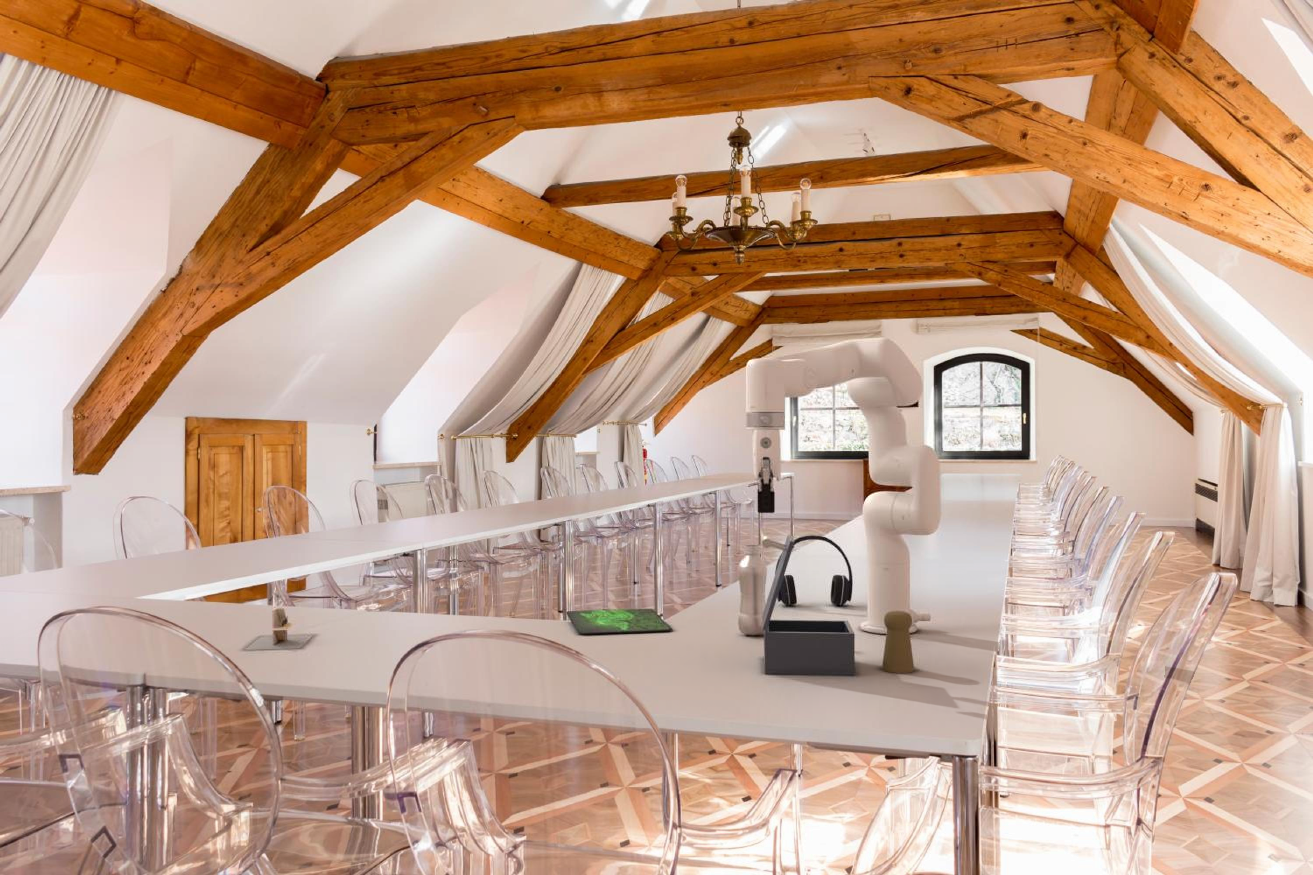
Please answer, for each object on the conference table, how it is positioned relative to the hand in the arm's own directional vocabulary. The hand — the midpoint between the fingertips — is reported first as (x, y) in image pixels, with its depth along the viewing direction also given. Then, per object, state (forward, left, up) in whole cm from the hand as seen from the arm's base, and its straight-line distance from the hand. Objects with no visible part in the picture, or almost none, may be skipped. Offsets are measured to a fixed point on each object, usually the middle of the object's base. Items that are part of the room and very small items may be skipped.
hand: (765, 510), depth 202 cm
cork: (-24, +7, -30) cm, 39 cm away
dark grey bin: (-8, +2, -30) cm, 31 cm away
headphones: (-32, -67, -30) cm, 80 cm away
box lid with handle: (-2, +1, -14) cm, 14 cm away
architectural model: (+97, -42, -30) cm, 110 cm away
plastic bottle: (-6, -31, -30) cm, 44 cm away
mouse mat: (+22, -51, -30) cm, 63 cm away
